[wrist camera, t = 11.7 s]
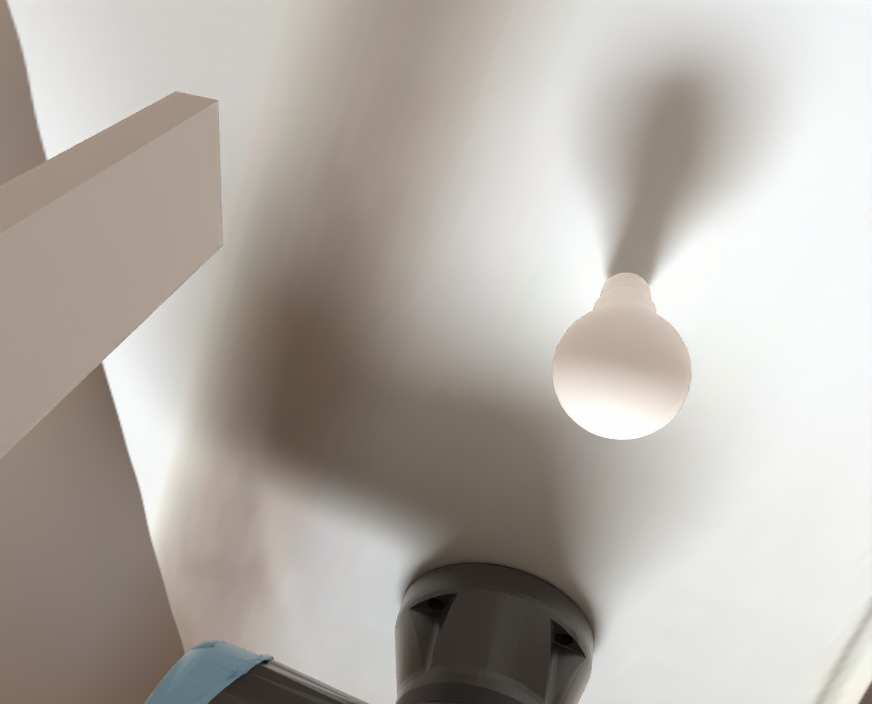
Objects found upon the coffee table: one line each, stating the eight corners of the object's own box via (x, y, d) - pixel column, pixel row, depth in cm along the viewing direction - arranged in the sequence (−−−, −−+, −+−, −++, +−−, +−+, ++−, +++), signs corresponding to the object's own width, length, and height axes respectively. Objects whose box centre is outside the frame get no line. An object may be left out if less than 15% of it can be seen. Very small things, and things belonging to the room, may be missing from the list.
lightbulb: (594, 217, 40) (576, 332, 31) (707, 258, 39) (721, 386, 31) (552, 311, 43) (525, 438, 35) (655, 348, 43) (654, 486, 34)
